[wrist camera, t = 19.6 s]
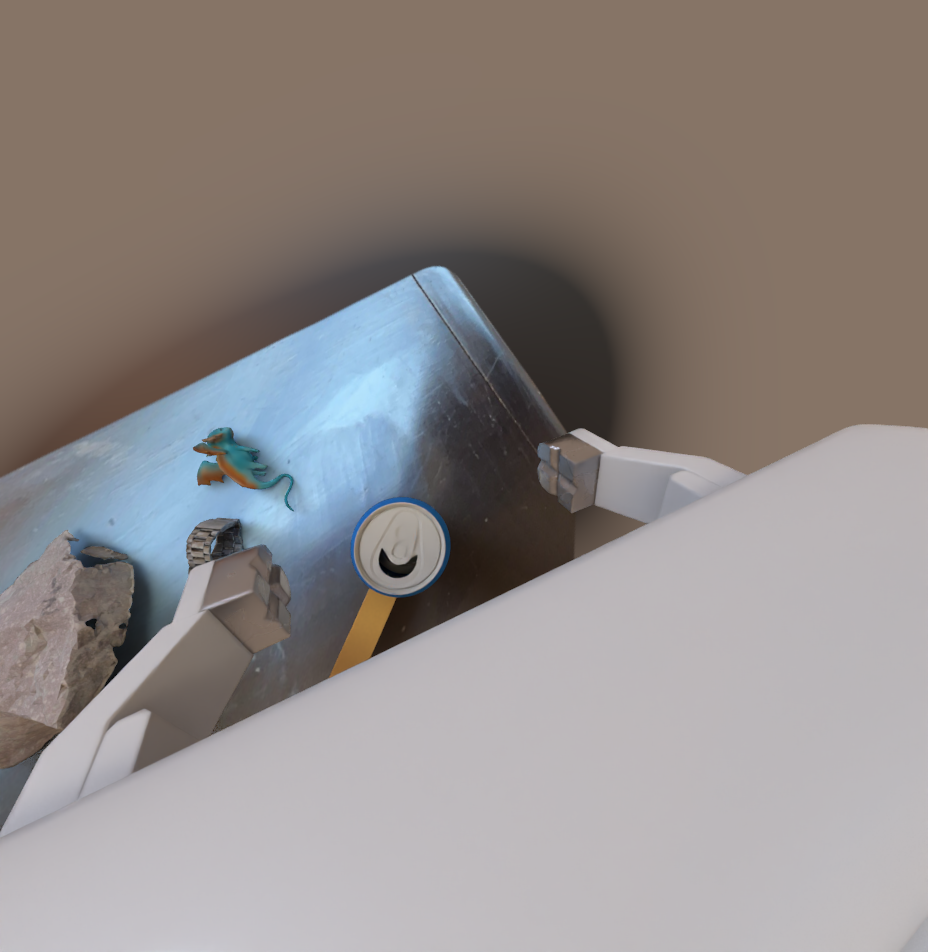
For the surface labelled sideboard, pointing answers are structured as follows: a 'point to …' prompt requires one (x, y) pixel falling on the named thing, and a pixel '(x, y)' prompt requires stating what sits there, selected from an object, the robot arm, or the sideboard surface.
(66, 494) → the sideboard surface
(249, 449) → the dragon figurine
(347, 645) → the fry stick
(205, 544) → the wristwatch
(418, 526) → the beverage can
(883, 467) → the robot arm
